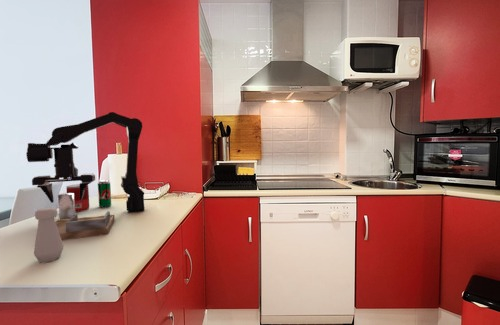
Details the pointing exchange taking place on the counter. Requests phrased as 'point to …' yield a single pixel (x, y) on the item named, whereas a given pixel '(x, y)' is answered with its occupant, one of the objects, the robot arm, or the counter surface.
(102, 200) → the soda can
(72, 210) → the canister
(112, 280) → the counter surface
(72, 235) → the dock
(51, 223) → the salt shaker
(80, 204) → the canned food
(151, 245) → the counter surface
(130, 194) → the robot arm
